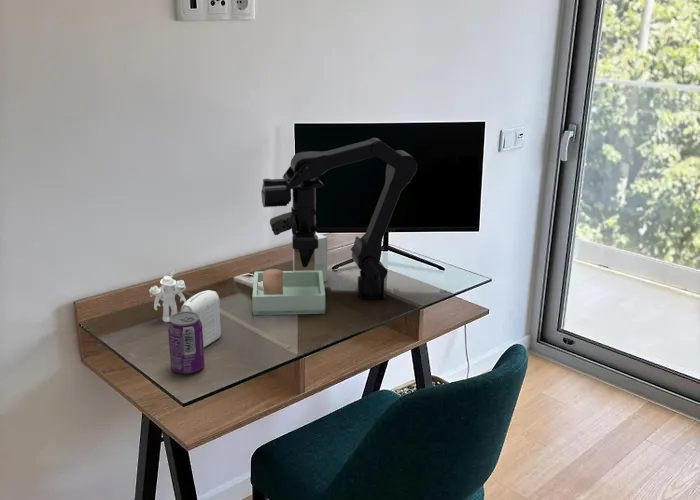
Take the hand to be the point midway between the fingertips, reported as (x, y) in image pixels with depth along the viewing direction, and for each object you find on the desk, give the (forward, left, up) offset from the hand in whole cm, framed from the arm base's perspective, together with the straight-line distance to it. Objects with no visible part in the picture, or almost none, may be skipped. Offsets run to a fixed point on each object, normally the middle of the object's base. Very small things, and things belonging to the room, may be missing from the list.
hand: (304, 262), depth 186 cm
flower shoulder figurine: (+33, +9, -11) cm, 36 cm away
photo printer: (+24, +22, -11) cm, 34 cm away
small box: (-2, -14, -11) cm, 18 cm away
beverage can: (+26, +33, -11) cm, 43 cm away
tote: (+4, 0, -11) cm, 11 cm away
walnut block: (0, 0, -1) cm, 1 cm away
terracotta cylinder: (+8, 0, -10) cm, 13 cm away
